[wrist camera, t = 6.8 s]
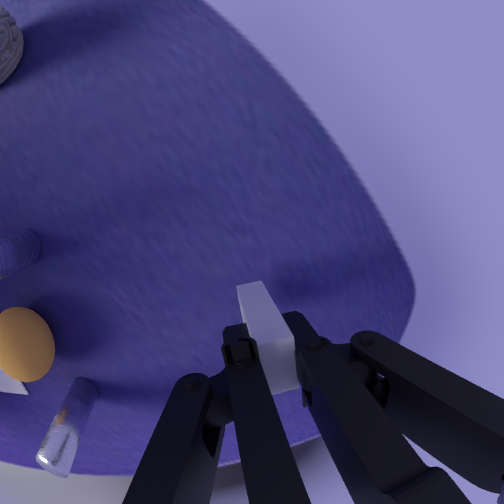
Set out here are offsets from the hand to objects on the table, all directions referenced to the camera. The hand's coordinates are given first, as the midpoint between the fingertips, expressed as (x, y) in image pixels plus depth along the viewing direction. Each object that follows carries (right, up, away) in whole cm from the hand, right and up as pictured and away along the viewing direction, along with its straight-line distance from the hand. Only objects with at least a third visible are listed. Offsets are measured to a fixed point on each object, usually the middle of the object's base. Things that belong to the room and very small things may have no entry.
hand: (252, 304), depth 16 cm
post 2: (-14, -8, +2) cm, 16 cm away
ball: (-16, -3, -3) cm, 17 cm away
